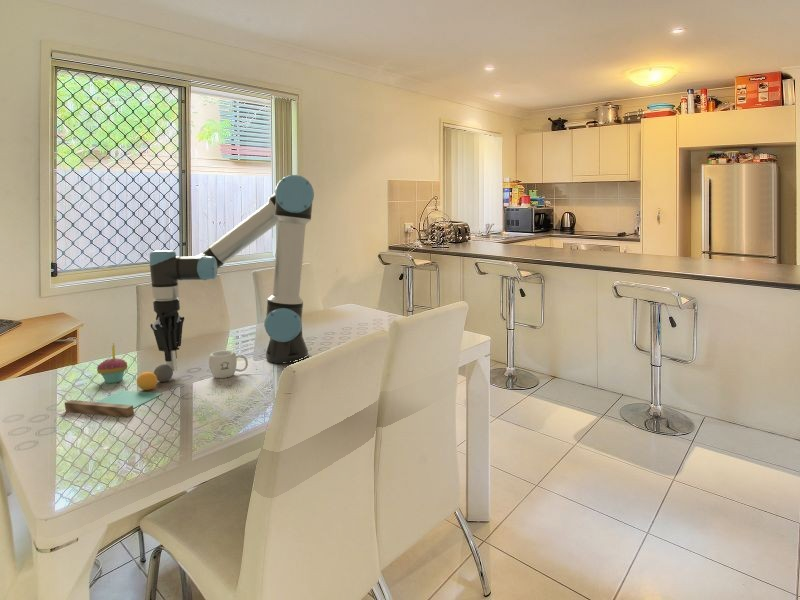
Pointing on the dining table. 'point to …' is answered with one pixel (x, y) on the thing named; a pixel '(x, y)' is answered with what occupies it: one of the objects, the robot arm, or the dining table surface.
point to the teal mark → (130, 398)
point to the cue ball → (163, 372)
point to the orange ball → (147, 380)
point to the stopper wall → (99, 408)
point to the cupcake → (112, 368)
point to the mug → (224, 363)
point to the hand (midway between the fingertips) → (171, 369)
